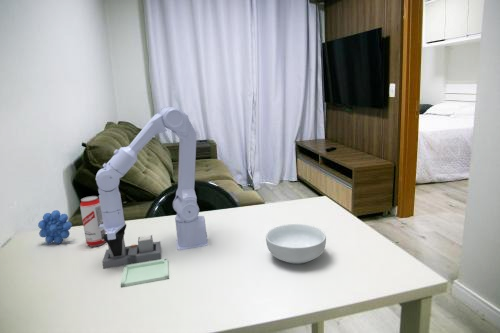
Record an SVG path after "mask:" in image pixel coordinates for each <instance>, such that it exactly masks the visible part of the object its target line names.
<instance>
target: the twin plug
mask: <svg viewBox="0 0 500 333" xmlns="http://www.w3.org/2000/svg"><path fill="white" fill-rule="evenodd" d="M153 242H154V239H153V234H150V235H143V236H138V238H137V245H138V246H139V253H138V254H140V253H147V252H153V251H154V246H153Z"/></svg>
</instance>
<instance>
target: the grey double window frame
mask: <svg viewBox="0 0 500 333" xmlns="http://www.w3.org/2000/svg"><path fill="white" fill-rule="evenodd" d="M153 246H154V251H153V252H147V253H139V246H138V244H131V245H128V246H125V248H126V256H122V257H116V258H110V253H109V248H108V249H105V253H104V255H103V259H102V262H101V263H102V269H103V270H104V269H110V268H117V267H123V266H126V265H132V264H138V263H144V262H150V261H156V260H162V247H161V246H162V245H161V241H153Z"/></svg>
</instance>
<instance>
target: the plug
mask: <svg viewBox="0 0 500 333" xmlns="http://www.w3.org/2000/svg"><path fill="white" fill-rule="evenodd" d="M107 247H108V249H109V253H110V258H116V257H122V256H127V255H126V248H125V247H126V243H125V236H124V237H123V240H122V255H121V256H115V257H114V255H113V253H112V251H111V249H110V247H109V245H108V244H107Z"/></svg>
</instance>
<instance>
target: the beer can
mask: <svg viewBox="0 0 500 333" xmlns="http://www.w3.org/2000/svg"><path fill="white" fill-rule="evenodd" d="M79 207H80V214H81V215H80V216H81V220H82V225H83V226H82V227H83V230H84V238H85V242H86V245H87V246H89V247H91V248H95V247H99V246H102V245H104V244H105V243H106V241H105V240H104V238H103V236H104V234H107V233H106V231H105V230H104V229H100V228H99V226H100V224H103V219H102V213H101V207H100V201H99V196H97V195H91V196H86V197H83V198H81V199H80V204H79Z"/></svg>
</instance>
